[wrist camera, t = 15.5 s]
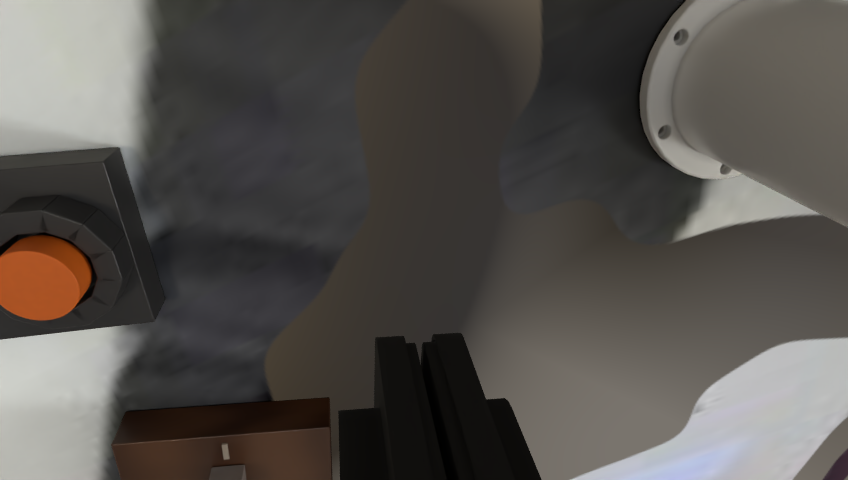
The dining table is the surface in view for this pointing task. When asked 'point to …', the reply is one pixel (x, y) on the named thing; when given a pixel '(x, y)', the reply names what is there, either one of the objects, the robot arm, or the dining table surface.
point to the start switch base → (81, 235)
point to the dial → (228, 473)
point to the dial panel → (227, 441)
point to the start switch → (43, 277)
